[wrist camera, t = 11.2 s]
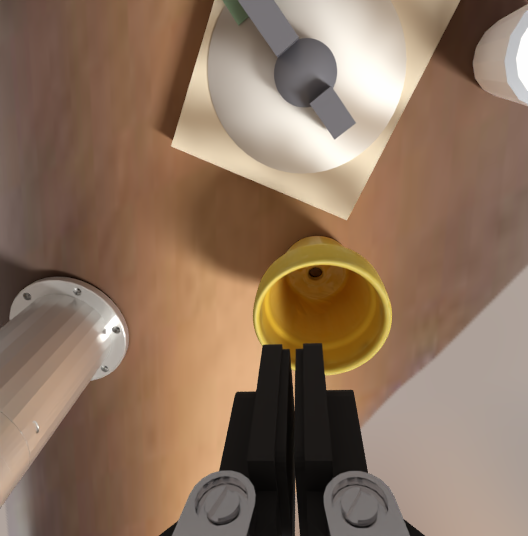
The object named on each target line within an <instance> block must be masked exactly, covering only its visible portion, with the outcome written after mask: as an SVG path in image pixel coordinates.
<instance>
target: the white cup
mask: <svg viewBox="0 0 528 536" xmlns="http://www.w3.org/2000/svg"><path fill="white" fill-rule="evenodd" d="M472 64H473V70H474V76H475V79H476V81H477V82H478V83H479V85H480V86H481V88H482V89H483V90H485V91H487V92H488V93H490V94H492V95H494V96H497V97H500V98H504V99H507V100H510V101H513V102H516V103H520V104H523V105H526V106H528V4H527V5H525V6H523V7H522V8H520V9H518V10H516V11H514V12H513V13H511V14H509V15H507V16H505V17H504V18H502V19H500V20H498V21H497V22H496V23H495V24H494V25H493V26H492V27H490V28H489V29H488V30H487V31H486V32H485V33H484V35H483V36H482V38H481V40H480V41H479V43H478V45H477V46H476V49H475V54H474V59H473V63H472Z"/></svg>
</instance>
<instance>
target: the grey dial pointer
mask: <svg viewBox="0 0 528 536" xmlns="http://www.w3.org/2000/svg"><path fill="white" fill-rule="evenodd" d="M238 1H239V3H240V4H241V6H242V7H243V9H244V10H245V11H246V13H247V14H248V16H249V17H250V19H251V20H252V22H253V23H254V24H255V26H256V27H257V29H258V30H259V32H260V33H261V35H262V36H263V37H264V39H265V40H266V42H267V43H268V45H269V46H270V47H271V49H272V50H273V52H274V53H275V55H276V56H277V57H278V58H277V60H276V64H275V68H274V80H275V85H276V88H277V90H278V92H279V94H280V95H281V96H282V98H283V99H284V100H286V101H287V102H288V103H290V104H292V105H294V106H297V107H304V108H305V107H312V108H313V109H314V111H315V112H316V114H317V115H318V117H319V118H320V120H321V121H322V122H323V124H324V125H325V127H326V128H327V130H328V131H329V132H330V134H331V135H332V137H333V138H334V140H335V139H336V138H337V137H339V136H340V135H341V134H343V133H344V132H345V131H347V130H348V129H349V128H350V127H352V126H353V125H354V124H356V122H355V121H354V119H353V118H352V116H351V115H350V113H349V112H348V110H347V109H346V107H345V106H344V104H343V103H342V101H341V100H340V98H339V97H338V95H337V94H336V92H335V91H334V89H333V88H334V85H335V83H336V79H337V64H336V60H335V57H334V55H333V53H332V52H331V50H330V49H329V48H328V47H327V46H326V45H325V44H324V43H322V42H321V41H319V40H316V39H312V38H301V39H299V37H298V35H297V34H296V32H295V31H294V29H293V28H292V26H291V25H290V23H289V22H288V20H287V19H286V17H285V16H284V14H283V13H282V11H281V10H280V8H279V7H278V5H277V4H276V2H275V1H274V0H238Z"/></svg>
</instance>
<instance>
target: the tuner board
mask: <svg viewBox="0 0 528 536" xmlns="http://www.w3.org/2000/svg"><path fill="white" fill-rule="evenodd" d="M274 1H275V2H276V4H277V5H278V7H279V8H280V10H281V11H282V13H283V14H284V16H285V17H286V19H287V20H288V22H289V23H290V25H291V26H292V28H293V29H294V31H295V32H296V34H297V35H298V37H299V39H301V38H312V39H316V40H319V41H321V42H322V43H324V44H325V45H326V46H327V47H328V48H329V49H330V50H331V52H332V53H333V55H334V57H335V60H336V64H337V79H336V83H335V85H334V88H333V89H334V91H335V92H336V94H337V95H338V97H339V98H340V100H341V101H342V103H343V104H344V106H345V107H346V109H347V110H348V112H349V113H350V115H351V116H352V118H353V119H354V121H355V122H356V124H354V125H353V126H352V127H350V128H349V129H348V130H347V131H345V132H344V133H343V134H341V135H340V136H339V137H337V138H336V139H335V140H334V138H333V137H332V135H331V134H330V132H329V131H328V130H327V128H326V127H325V125H324V124H323V122H322V121H321V120H320V118H319V117H318V115H317V114H316V112H315V111H314V109H313V108H312V107H305V108H304V107H297V106H294V105H292V104H290V103H288V102H287V101H286V100H284V99H283V98H282V96H281V95H280V94H279V92H278V90H277V88H276V85H275V80H274V68H275V64H276V60H277V58H278V57H277V56H276V55H275V53H274V52H273V50H272V49H271V47H270V46H269V45H268V43H267V42H266V40H265V39H264V37H263V36H262V35H261V33H260V32H259V30H258V29H257V27H256V26H255V24H254V23H253V22H252V20H251V19H250V17H249V16H248V14H247V13H246V11H245V10H244V9H243V7H242V6H241V4H240V3H239V1H238V0H214V3H213V7H212V10H211V13H210V17H209V20H208V23H207V27H206V30H205V34H204V37H203V40H202V44H201V47H200V50H199V54H198V57H197V61H196V64H195V67H194V71H193V74H192V78H191V81H190V84H189V88H188V91H187V94H186V98H185V101H184V105H183V108H182V111H181V115H180V118H179V121H178V125H177V128H176V132H175V135H174V138H173V142H172V145H171V147H174V148H176V149H179V150H181V151H183V152H186V153H188V154H190V155H193V156H195V157H198V158H200V159H202V160H205V161H207V162H210V163H212V164H214V165H217V166H219V167H221V168H224V169H226V170H229V171H231V172H233V173H236V174H238V175H240V176H243V177H245V178H248V179H250V180H252V181H255V182H257V183H259V184H262V185H264V186H267V187H269V188H271V189H274V190H276V191H278V192H281V193H283V194H286V195H288V196H290V197H293V198H295V199H298V200H300V201H302V202H305V203H307V204H309V205H312V206H314V207H317V208H319V209H321V210H324V211H326V212H328V213H331V214H333V215H336V216H338V217H340V218H343V219H345V220H347V219H348V217H349V215H350V213H351V211H352V210H353V208H354V206H355V204H356V202H357V200H358V198H359V196H360V194H361V192H362V190H363V188H364V186H365V184H366V182H367V180H368V179H369V177H370V175H371V173H372V171H373V169H374V167H375V165H376V163H377V161H378V159H379V157H380V155H381V153H382V151H383V149H384V147H385V146H386V144H387V142H388V140H389V138H390V136H391V134H392V132H393V130H394V128H395V126H396V124H397V122H398V120H399V118H400V116H401V114H402V113H403V111H404V109H405V107H406V105H407V103H408V101H409V99H410V97H411V95H412V93H413V91H414V89H415V87H416V85H417V83H418V81H419V80H420V78H421V76H422V74H423V72H424V70H425V68H426V66H427V64H428V62H429V60H430V58H431V56H432V54H433V52H434V50H435V48H436V47H437V45H438V43H439V41H440V39H441V37H442V35H443V33H444V31H445V29H446V27H447V25H448V23H449V21H450V19H451V17H452V15H453V14H454V12H455V10H456V8H457V6H458V4H459V2H460V0H274Z"/></svg>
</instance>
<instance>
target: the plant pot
mask: <svg viewBox="0 0 528 536" xmlns="http://www.w3.org/2000/svg"><path fill="white" fill-rule="evenodd" d="M314 267H317V268H320V269H321V270H322V275H321V276H319V277H311V276H310V275H309V270H310V269H312V268H314ZM253 323H254V329H255V332H256V335H257V337H258V340H259V342H260V343H261V345H262V346H263V345H268V344H282V346H283V349H290V357H291V369H292V370H294V371H295V357H296V349H303V343H322V348H323V359H324V371H325V375H334V374H339V373H343V372H347V371H350V370H353V369H355V368H357V367H359V366H360V365H362V364H364V363H365V362H367V361H368V360H369V359H371V358H372V357H373V356H374V355H375V354H376V353H377V352H378V351H379V349H380V348H381V347H382V345H383V344H384V342H385V341H386V339H387V336H388V334H389V331H390V328H391V323H392V309H391V304H390V300H389V297H388V294H387V292H386V289H385V287H384V285H383V283H382V281H381V279H380V277H379V275H378V273H377V272H376V270H375V269H374V268H373V266H372V265H371V264H370V263H369V262H368V261H367V260H366V259H365V258H364V257H362V256H361V255H359V254H358V253H356V252H354V251H352V250H350V249H348V248H345V247H344V246H342V245H341V244H340V243H339V242H337V241H336V240H334V239H331V238H328V237H324V236H311V237H307V238H304V239H301V240H299V241H298V242H296V243H295V244H293V245H292V246H291V247H290V248H289V249H288V251H287V252H286V254H284V255H282V256H281V257H280V258H278V259H277V260H276V261H275V262H274V263H273V264H272V265H271V266H270V267H269V268H268V269H267V271H266V272H265V274H264V275H263V277H262V279H261V281H260V284H259V287H258V290H257V294H256V298H255V303H254V309H253Z"/></svg>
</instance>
